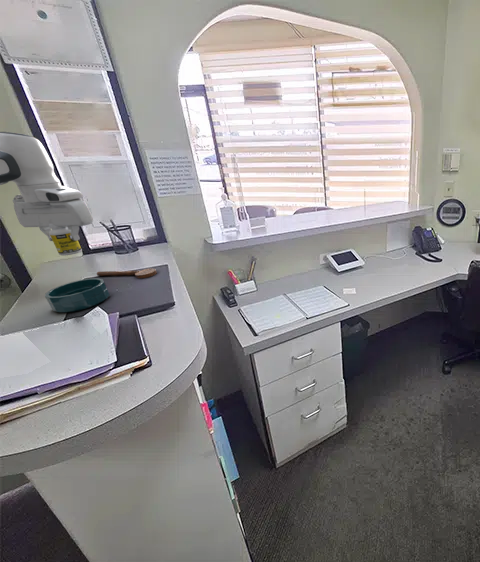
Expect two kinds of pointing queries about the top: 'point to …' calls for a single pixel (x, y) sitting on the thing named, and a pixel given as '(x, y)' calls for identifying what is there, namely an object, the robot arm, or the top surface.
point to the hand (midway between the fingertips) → (65, 240)
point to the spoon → (129, 273)
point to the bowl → (77, 295)
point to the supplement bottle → (64, 240)
